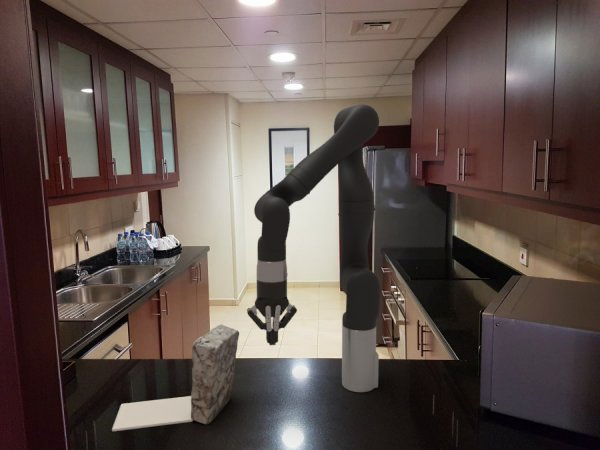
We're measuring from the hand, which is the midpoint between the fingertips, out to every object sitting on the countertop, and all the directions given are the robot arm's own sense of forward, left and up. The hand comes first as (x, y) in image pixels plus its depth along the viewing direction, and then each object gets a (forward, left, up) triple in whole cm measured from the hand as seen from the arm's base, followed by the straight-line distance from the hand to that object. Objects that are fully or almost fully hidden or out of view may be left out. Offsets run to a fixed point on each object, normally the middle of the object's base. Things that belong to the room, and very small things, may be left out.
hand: (272, 343), depth 108 cm
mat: (+29, -1, -16) cm, 33 cm away
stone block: (+15, 0, -16) cm, 22 cm away
